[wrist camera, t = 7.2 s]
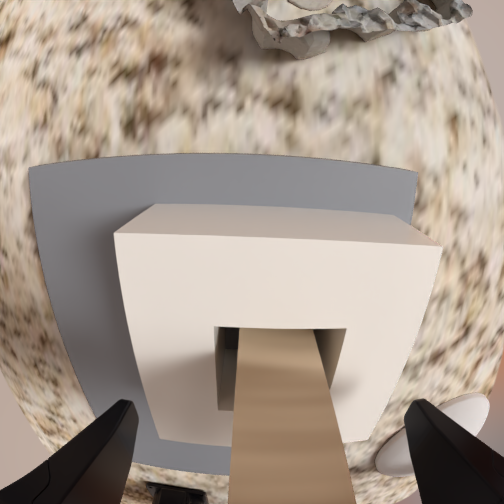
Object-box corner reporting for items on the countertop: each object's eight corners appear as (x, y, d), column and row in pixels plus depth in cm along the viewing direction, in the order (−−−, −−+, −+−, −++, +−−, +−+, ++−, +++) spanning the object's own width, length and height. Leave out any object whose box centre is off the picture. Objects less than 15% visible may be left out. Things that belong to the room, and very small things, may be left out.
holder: (350, 386, 15) (367, 439, 12) (175, 383, 15) (159, 438, 11) (393, 214, 12) (443, 246, 8) (155, 203, 12) (113, 232, 8)
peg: (293, 338, 14) (329, 576, 3) (239, 335, 14) (225, 582, 3) (301, 291, 13) (368, 564, 2) (242, 288, 13) (223, 578, 2)
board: (323, 464, 20) (324, 473, 20) (122, 450, 20) (119, 458, 19) (407, 169, 12) (417, 172, 11) (40, 164, 12) (28, 167, 11)
